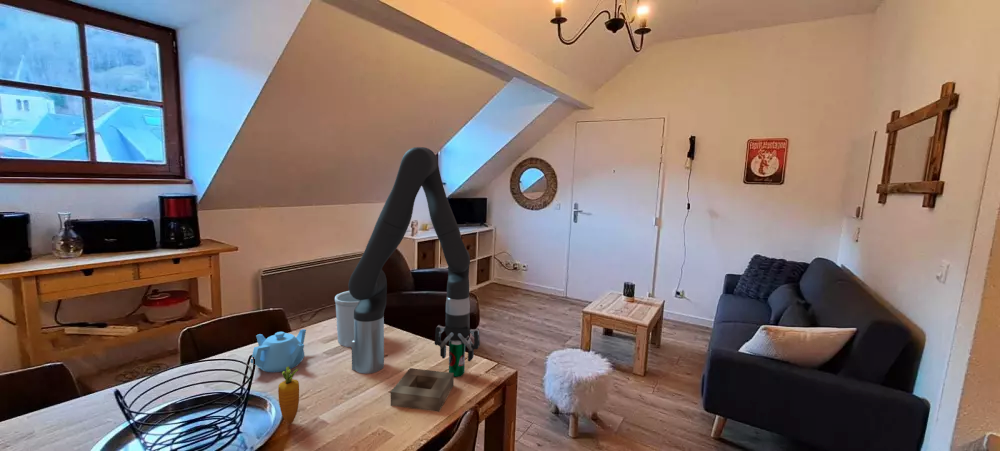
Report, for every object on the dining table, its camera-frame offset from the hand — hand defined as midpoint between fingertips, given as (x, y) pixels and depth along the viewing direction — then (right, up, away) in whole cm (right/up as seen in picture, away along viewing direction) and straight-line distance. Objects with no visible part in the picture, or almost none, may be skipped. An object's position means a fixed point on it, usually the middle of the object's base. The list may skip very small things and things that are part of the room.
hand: (456, 359), depth 129 cm
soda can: (0, -5, +1) cm, 5 cm away
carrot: (-39, -8, -27) cm, 48 cm away
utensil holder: (-41, -1, +24) cm, 47 cm away
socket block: (-8, -6, -12) cm, 16 cm away
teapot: (-58, -3, +4) cm, 59 cm away
